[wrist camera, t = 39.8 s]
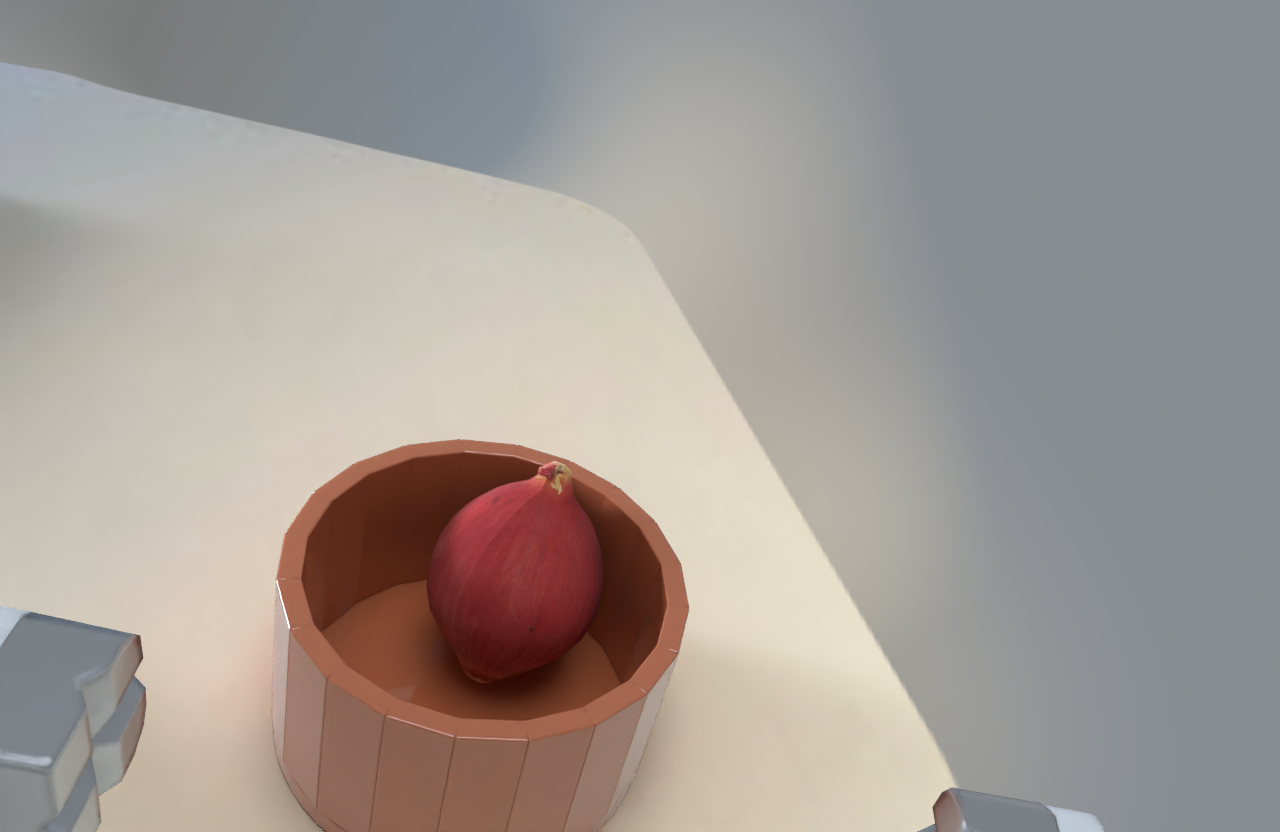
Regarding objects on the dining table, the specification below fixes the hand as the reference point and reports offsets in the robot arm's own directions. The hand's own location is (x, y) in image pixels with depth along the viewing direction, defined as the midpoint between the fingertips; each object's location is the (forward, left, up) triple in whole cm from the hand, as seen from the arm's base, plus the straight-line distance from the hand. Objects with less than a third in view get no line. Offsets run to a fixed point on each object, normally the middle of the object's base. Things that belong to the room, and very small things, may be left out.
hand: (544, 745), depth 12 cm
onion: (-2, -18, -22) cm, 28 cm away
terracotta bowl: (-2, -18, -23) cm, 29 cm away
